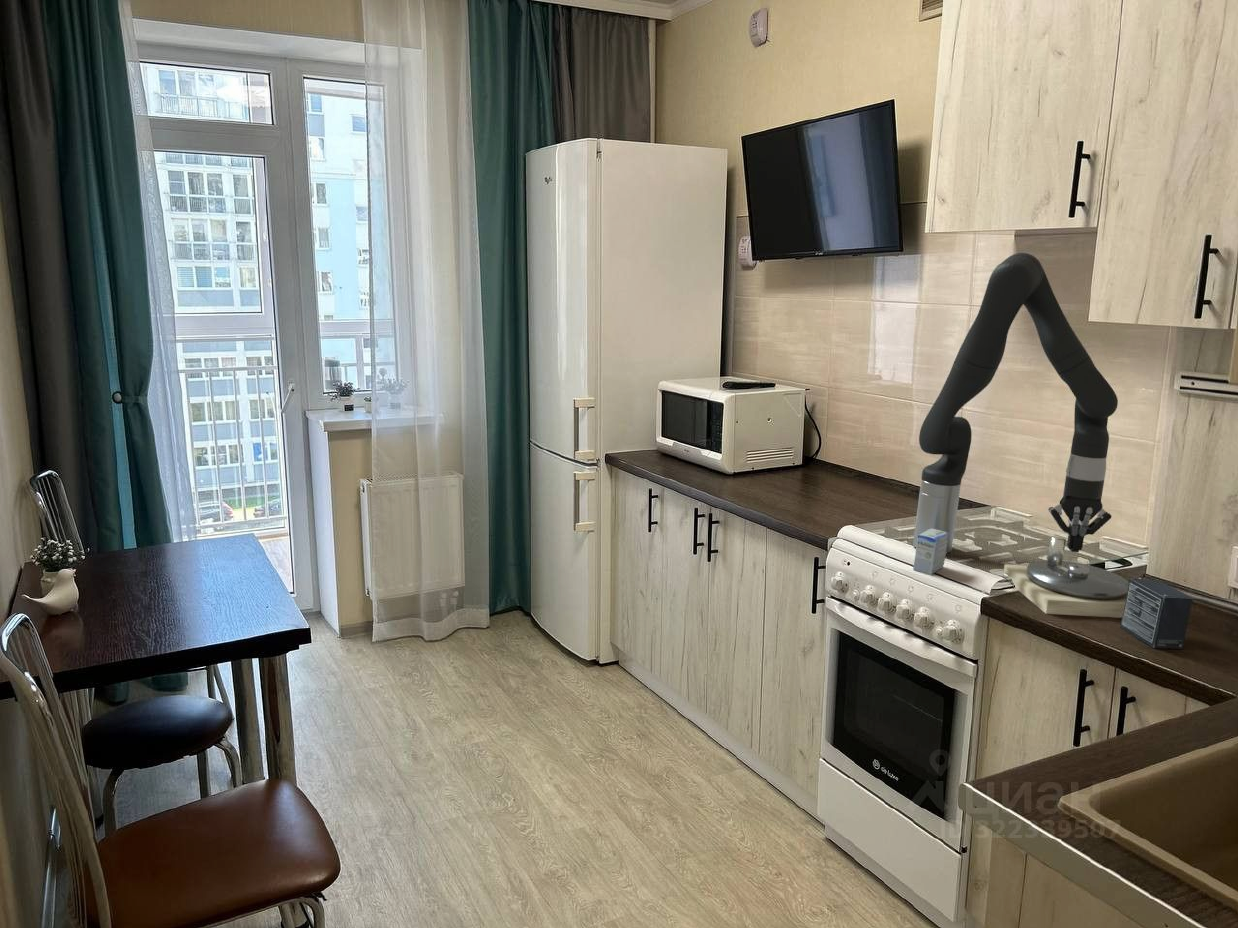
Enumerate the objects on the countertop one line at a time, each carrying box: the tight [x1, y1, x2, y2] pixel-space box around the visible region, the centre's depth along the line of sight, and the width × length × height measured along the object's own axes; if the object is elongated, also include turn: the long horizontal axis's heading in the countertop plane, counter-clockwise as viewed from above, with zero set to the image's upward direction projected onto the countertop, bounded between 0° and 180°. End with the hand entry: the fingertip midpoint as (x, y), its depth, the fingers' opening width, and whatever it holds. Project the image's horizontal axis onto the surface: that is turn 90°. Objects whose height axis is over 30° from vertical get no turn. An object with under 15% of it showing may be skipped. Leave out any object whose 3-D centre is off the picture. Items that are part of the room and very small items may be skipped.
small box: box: [1119, 577, 1194, 650], centre depth 175 cm, size 11×6×10 cm, turn 5°
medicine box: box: [913, 529, 949, 575], centre depth 209 cm, size 8×4×9 cm, turn 141°
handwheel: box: [1026, 535, 1129, 599], centre depth 195 cm, size 20×20×8 cm
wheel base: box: [1003, 564, 1127, 619], centre depth 196 cm, size 22×22×3 cm
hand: (1074, 551), depth 202 cm, fingers closed
